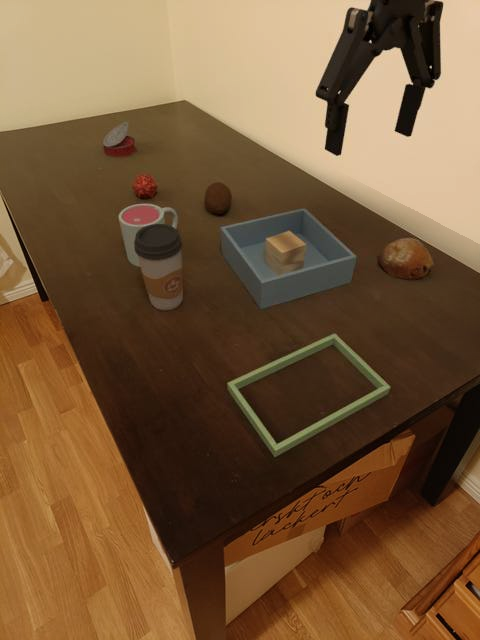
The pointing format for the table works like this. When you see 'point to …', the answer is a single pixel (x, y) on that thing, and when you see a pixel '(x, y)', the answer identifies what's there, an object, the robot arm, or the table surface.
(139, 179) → the red bumpy ball
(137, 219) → the mug
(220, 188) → the potato
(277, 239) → the block
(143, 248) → the coffee cup
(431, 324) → the table surface
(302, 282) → the bin
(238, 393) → the frame
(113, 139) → the canned food
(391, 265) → the bread roll
